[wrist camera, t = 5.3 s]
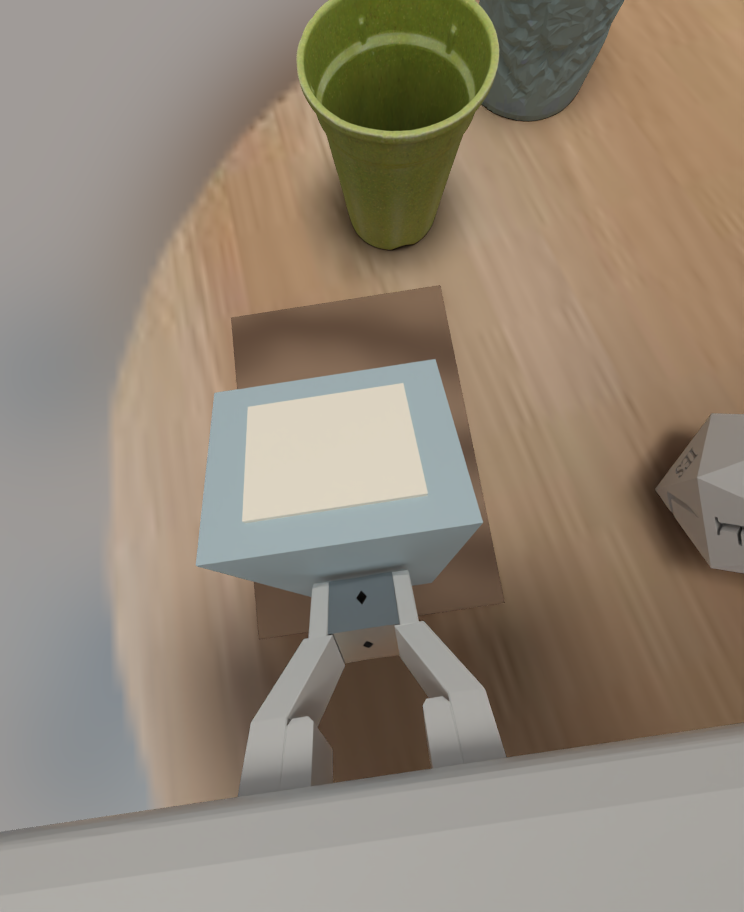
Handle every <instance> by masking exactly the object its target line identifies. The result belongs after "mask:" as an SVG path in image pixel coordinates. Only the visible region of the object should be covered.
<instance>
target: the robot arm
mask: <svg viewBox="0 0 744 912" xmlns="http://www.w3.org/2000/svg"><path fill="white" fill-rule="evenodd" d="M393 583H394V584H393ZM398 655H400V657H401V659H402V660H403V662H404V663H405V665H406V666H407V667H408V669H409V670H410V672H411V673H412V675H413V676H414V677H415V679H416V680H417V682H418V683H419V685H420V686H421V687H422V689H423V690H424V692H425V693H426V694H427V696H428V697H429V698H428V699H426V700H425V702H424V704H423V713H424V723H425V733H426V740H427V746H428V753H429V759H430V765H431V769H425V770H418V771H411V772H404V773H397V774H391V775H384V776H377V777H370V778H363V779H357V780H350V781H343V782H336V783H333V749H332V748H331V746H330V745H329V743H328V742H327V740H326V739H325V737H324V736H323V735H322V733H321V732H320V730H319V729H318V725H319V723H320V721H321V719H322V716H323V714H324V712H325V710H326V707H327V705H328V703H329V701H330V698H331V696H332V694H333V692H334V689H335V687H336V685H337V683H338V680H339V678H340V676H341V673H342V671H343V669H344V667H345V663H350V662H356V661H362V660H367V659H373V658H381V657H390V656H398ZM0 912H744V723H737V724H731V725H724V726H717V727H710V728H703V729H697V730H690V731H683V732H676V733H669V734H663V735H656V736H649V737H642V738H635V739H629V740H622V741H615V742H608V743H601V744H595V745H588V746H581V747H574V748H567V749H561V750H554V751H547V752H540V753H533V754H527V755H520V756H513V757H506V754H505V751H504V748H503V745H502V741H501V738H500V735H499V732H498V729H497V725H496V722H495V719H494V716H493V713H492V709H491V706H490V703H489V700H488V697H487V694H486V690H485V688H484V687H483V686H482V685H481V684H480V683H479V682H478V680H477V679H476V678H475V677H474V676H473V675H472V674H471V673H470V672H469V670H468V669H467V668H466V667H465V666H464V665H463V664H462V663H461V662H460V661H459V659H458V658H457V657H456V656H455V655H454V654H453V653H452V652H451V651H450V649H449V648H448V647H447V646H446V645H445V644H444V643H443V642H442V641H441V639H440V638H439V637H438V636H437V635H436V634H435V633H434V632H433V631H432V629H431V628H430V627H429V626H428V625H427V624H426V623H425V622H424V621H419V619H418V614H417V609H416V604H415V600H414V595H413V590H412V585H411V580H410V575H409V571H408V569H406V570H400V571H394V572H385V573H379V574H373V575H367V576H361V577H357V578H350V579H343V580H336V581H327V582H321V583H315V584H314V585H313V588H312V596H311V610H310V624H309V637H308V638H306V639H303V641H302V642H301V644H300V646H299V647H298V649H297V650H296V652H295V653H294V655H293V657H292V658H291V660H290V661H289V663H288V665H287V666H286V668H285V669H284V671H283V673H282V674H281V676H280V677H279V679H278V680H277V682H276V684H275V685H274V687H273V688H272V690H271V692H270V693H269V695H268V696H267V698H266V700H265V701H264V703H263V704H262V706H261V708H260V709H259V711H258V712H257V714H256V715H255V717H254V719H253V720H252V722H251V725H250V731H249V736H248V742H247V748H246V753H245V759H244V764H243V770H242V776H241V781H240V787H239V792H238V797H234V798H227V799H221V800H214V801H207V802H200V803H193V804H187V805H180V806H173V807H166V808H159V809H153V810H146V811H139V812H133V813H126V814H119V815H112V816H105V817H98V818H91V819H85V820H78V821H71V822H64V823H57V824H50V825H44V826H37V827H30V828H23V829H16V830H10V831H4V832H0Z"/></svg>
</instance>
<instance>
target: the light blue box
mask: <svg viewBox="0 0 744 912" xmlns="http://www.w3.org/2000/svg"><path fill="white" fill-rule="evenodd" d="M482 523H483V520H482V517H481V514H480V510H479V507H478V503H477V500H476V497H475V493H474V490H473V486H472V483H471V479H470V476H469V473H468V469H467V466H466V462H465V459H464V455H463V452H462V449H461V445H460V442H459V438H458V435H457V431H456V428H455V425H454V421H453V418H452V414H451V411H450V408H449V404H448V401H447V397H446V394H445V390H444V387H443V384H442V380H441V377H440V373H439V370H438V366H437V363H436V360H435V359H432V360H426V361H419V362H413V363H406V364H400V365H393V366H387V367H380V368H374V369H367V370H361V371H354V372H348V373H341V374H335V375H328V376H322V377H315V378H309V379H302V380H296V381H289V382H283V383H276V384H270V385H263V386H257V387H250V388H244V389H237V390H231V391H224V392H218V393H214V402H213V411H212V420H211V430H210V439H209V448H208V457H207V467H206V476H205V485H204V494H203V504H202V513H201V522H200V531H199V541H198V550H197V559H196V566H198V567H202V568H205V569H209V570H213V571H216V572H220V573H224V574H228V575H231V576H235V577H239V578H242V579H246V580H250V581H253V582H257V583H261V584H265V585H268V586H272V587H276V588H279V589H283V590H287V591H290V592H294V593H298V594H302V595H305V596H309V597H311V596H312V588H313V585H314V584H315V583H321V582H327V581H336V580H343V579H350V578H357V577H361V576H367V575H373V574H379V573H385V572H394V571H400V570H406V569H408V571H409V575H410V580H411V585H412V586H414V585H421V584H427V583H432V582H433V581H434V580H435V578H436V577H437V576H438V575H439V574H440V573H441V571H442V570H443V569H444V568H445V567H446V566H447V564H448V563H449V562H450V561H451V560H452V559H453V557H454V556H455V555H456V554H457V553H458V552H459V550H460V549H461V548H462V547H463V546H464V544H465V543H466V542H467V541H468V540H469V539H470V537H471V536H472V535H473V534H474V533H475V532H476V530H477V529H478V528H479V527H480V526H481V525H482ZM393 584H394V583H393Z"/></svg>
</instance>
